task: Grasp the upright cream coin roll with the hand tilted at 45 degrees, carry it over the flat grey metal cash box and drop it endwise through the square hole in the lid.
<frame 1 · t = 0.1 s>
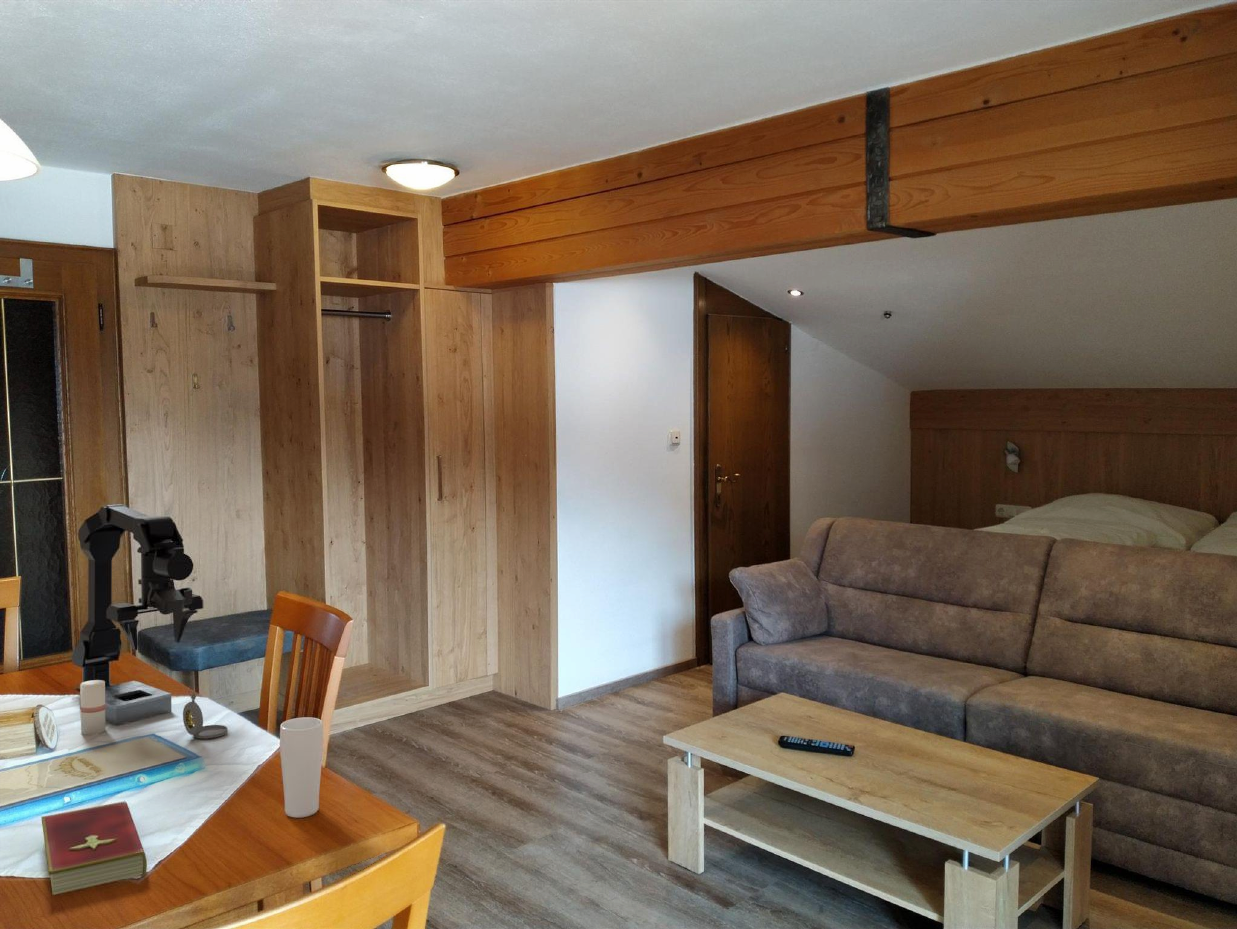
hand: (156, 646, 210), 15 cm above the table, tool pointing down, fingers open, 9 cm apart
hardcover book: (92, 860, 143), on the table
drinking glass: (301, 813, 160), on the table
coin roll: (93, 731, 198), on the table
pocket watch: (204, 737, 196), on the table
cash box: (125, 711, 211), on the table
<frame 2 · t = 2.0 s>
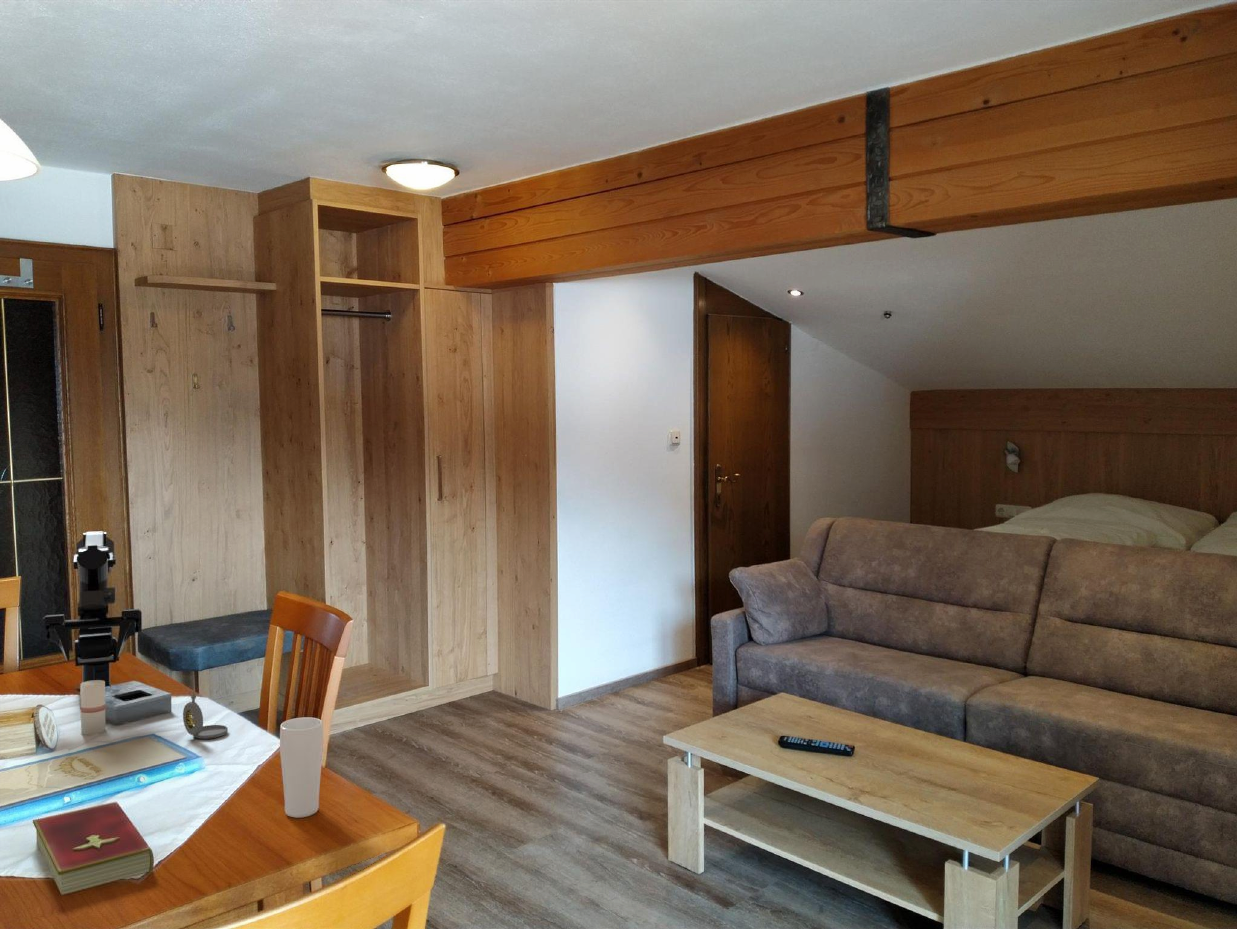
hand: (93, 657, 204), 13 cm above the table, tool tilted 45°, fingers open, 9 cm apart
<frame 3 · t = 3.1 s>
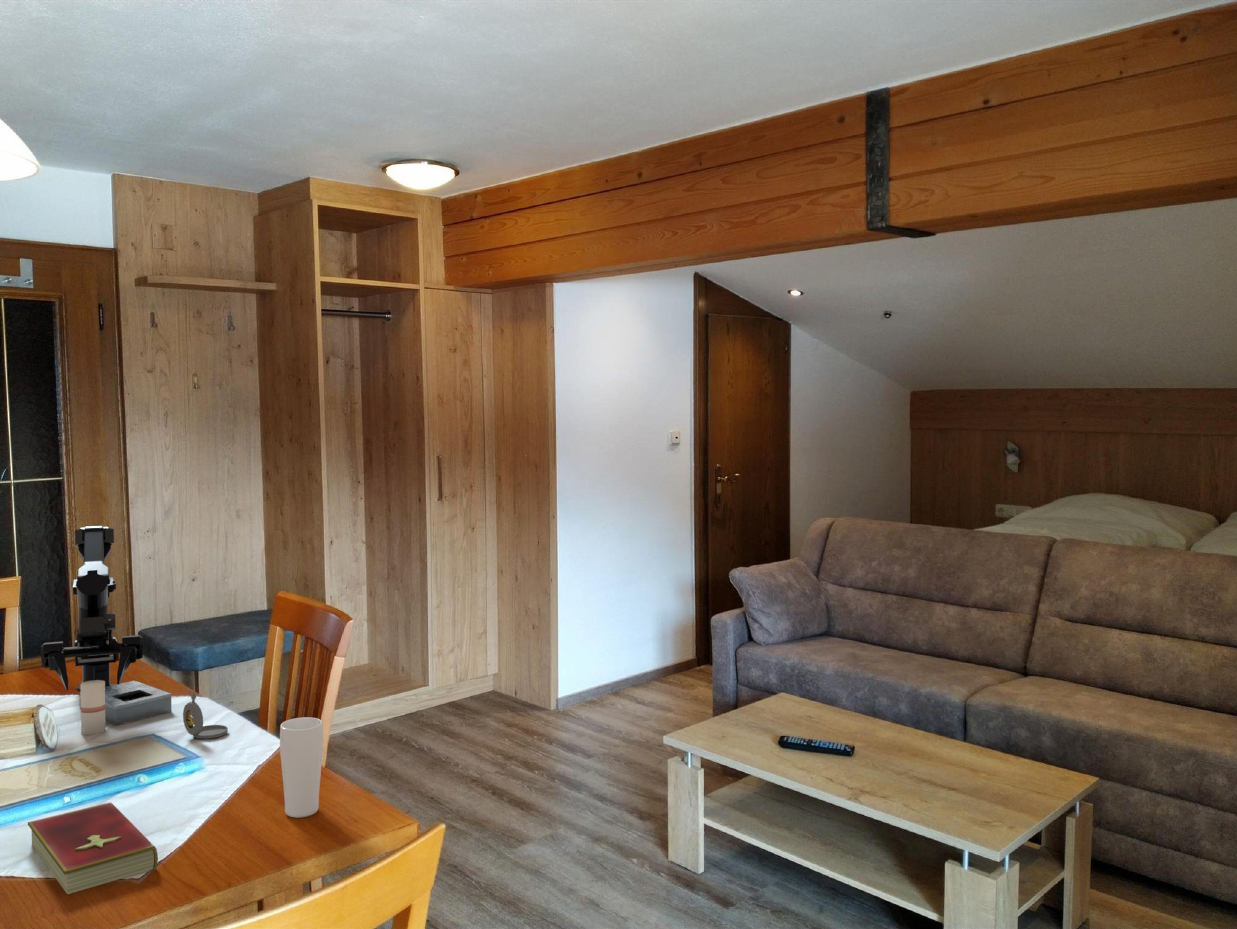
hand: (92, 686, 198), 9 cm above the table, tool tilted 45°, fingers open, 9 cm apart
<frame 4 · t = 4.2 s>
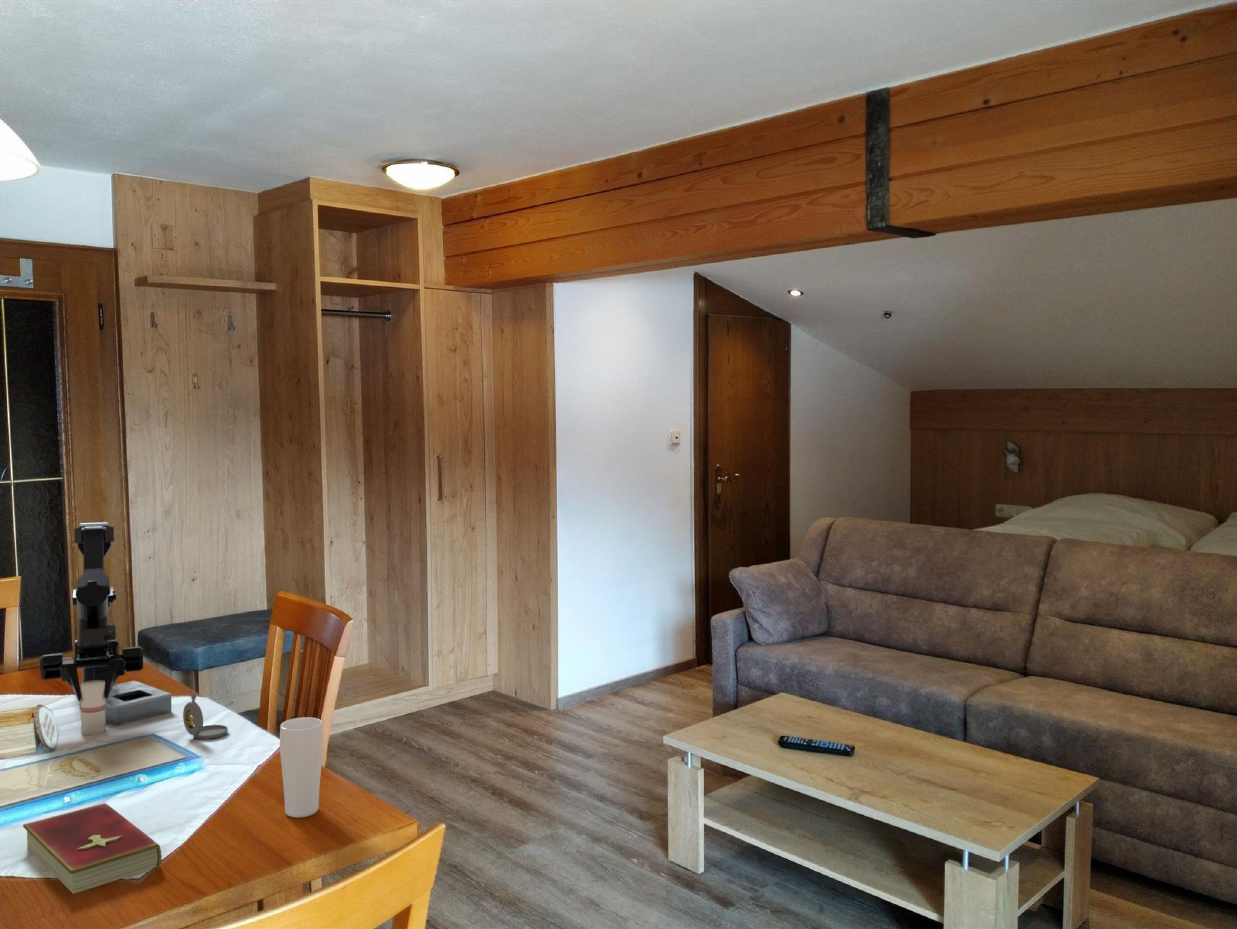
hand: (92, 698, 196), 7 cm above the table, tool tilted 45°, fingers closed on coin roll, 4 cm apart
coin roll: (93, 731, 198), on the table, touching gripper
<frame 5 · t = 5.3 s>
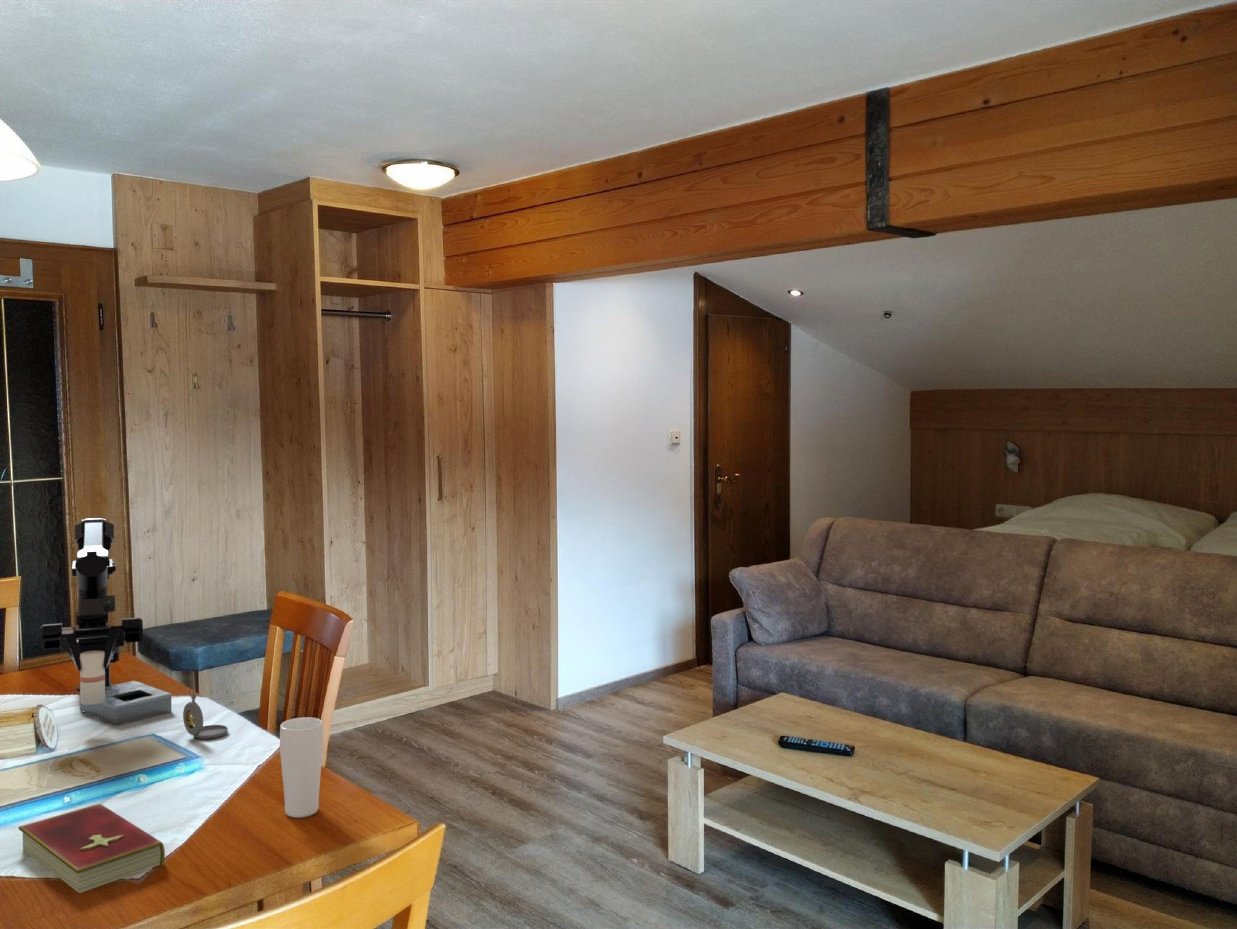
hand: (92, 668, 196), 13 cm above the table, tool tilted 45°, fingers closed on coin roll, 4 cm apart
coin roll: (92, 701, 197), point 6 cm above the table, touching gripper
when the fingers open (12 cm above the table, at t = 6.7 s): coin roll drops 5 cm, resting in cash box.
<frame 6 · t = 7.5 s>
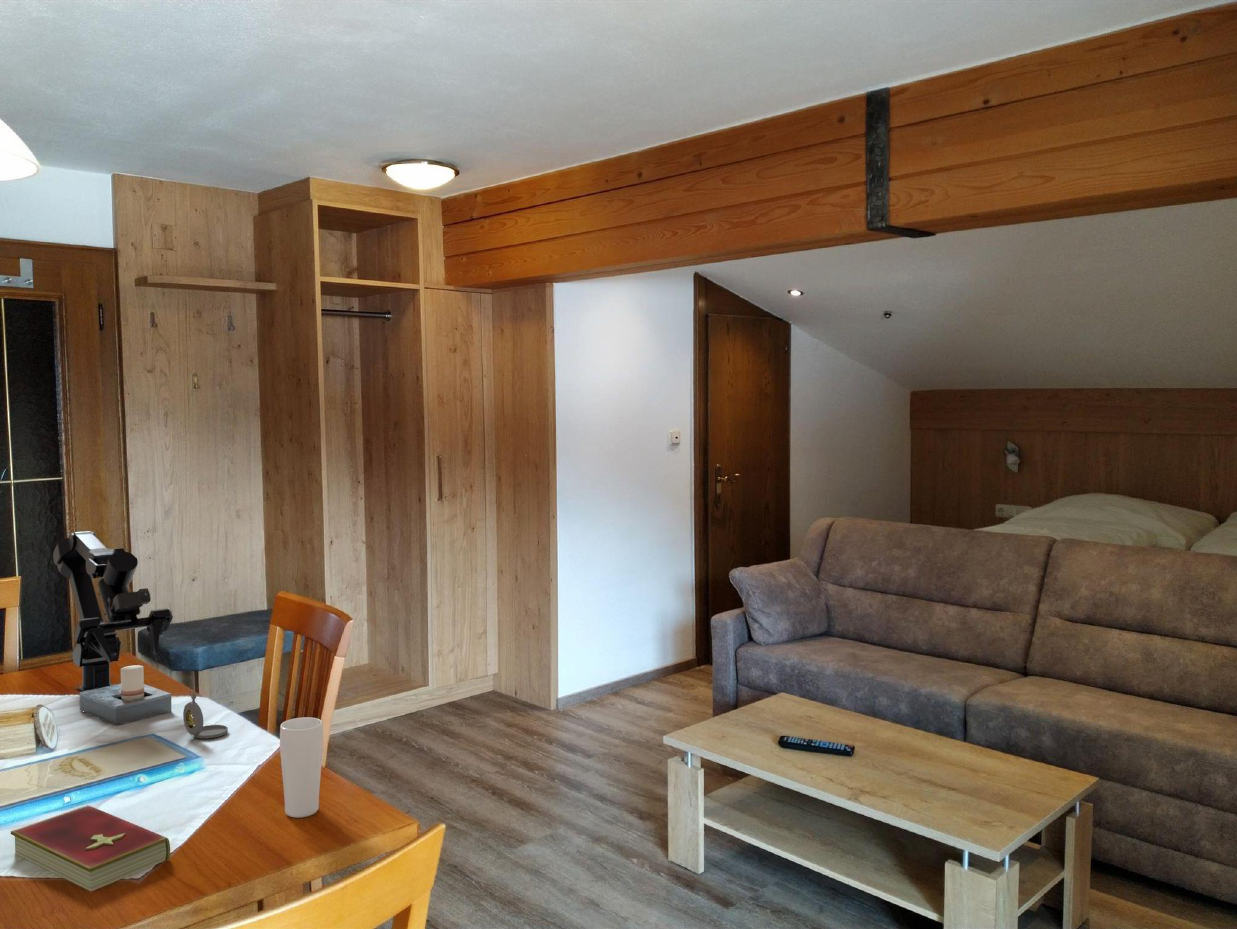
hand: (133, 657, 208), 13 cm above the table, tool tilted 45°, fingers open, 9 cm apart
coin roll: (133, 713, 209), resting in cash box
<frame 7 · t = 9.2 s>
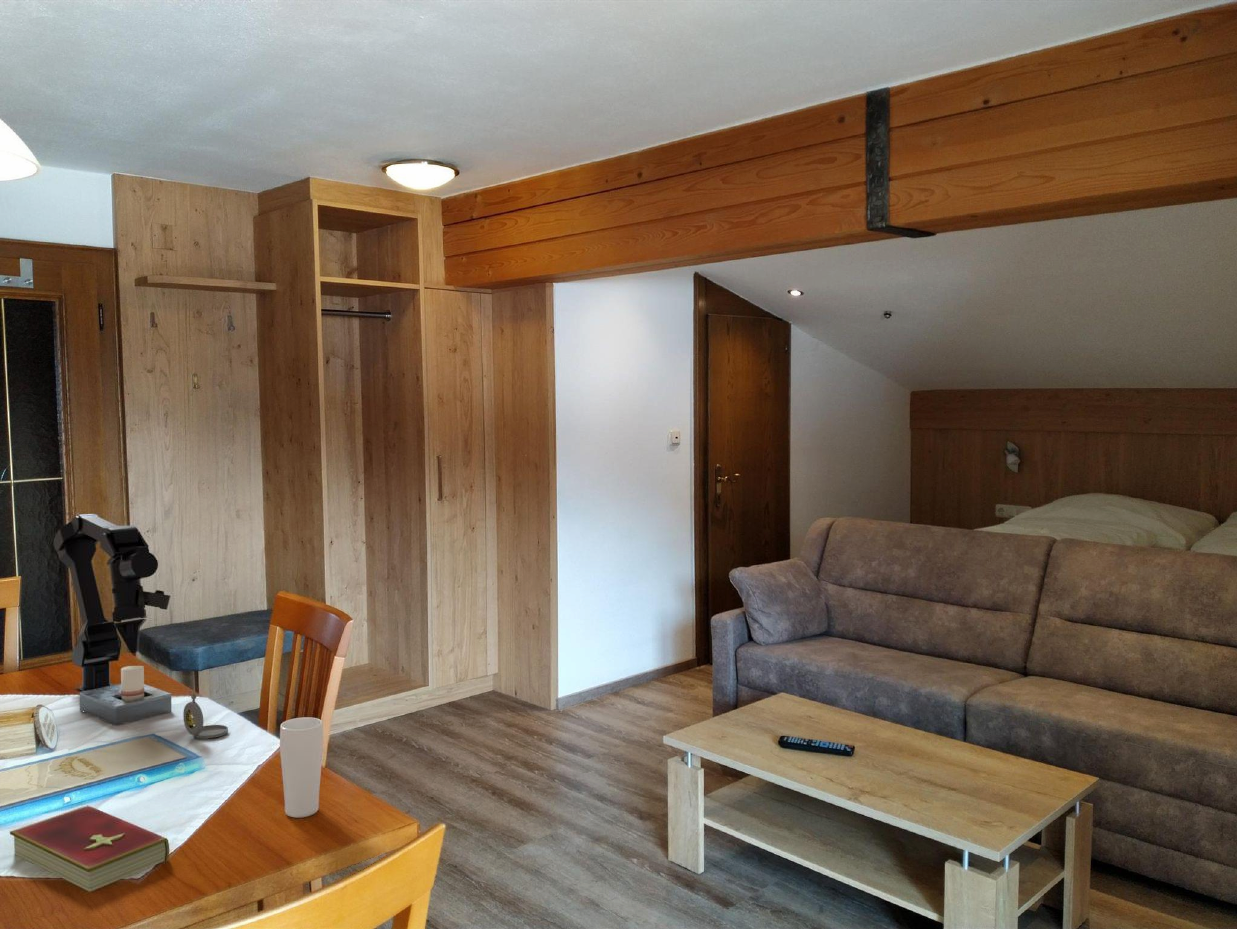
hand: (134, 652, 214), 12 cm above the table, tool pointing down, fingers open, 9 cm apart
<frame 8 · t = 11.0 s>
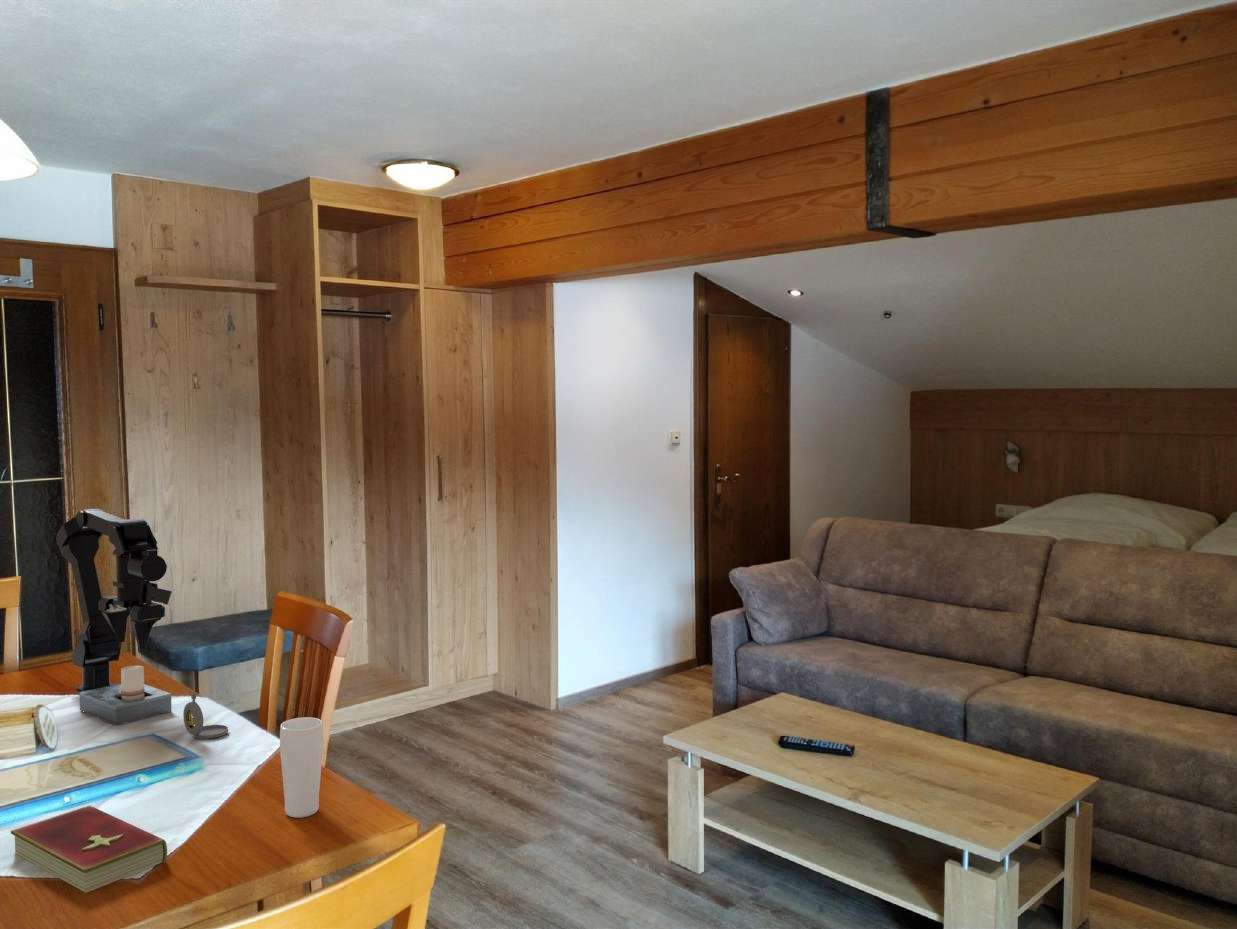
hand: (131, 645, 216), 13 cm above the table, tool pointing down, fingers open, 9 cm apart
at the end: coin roll 0.1 cm from the target spot on the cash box, point 0.0 cm above the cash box's base; the gripper is holding nothing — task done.
